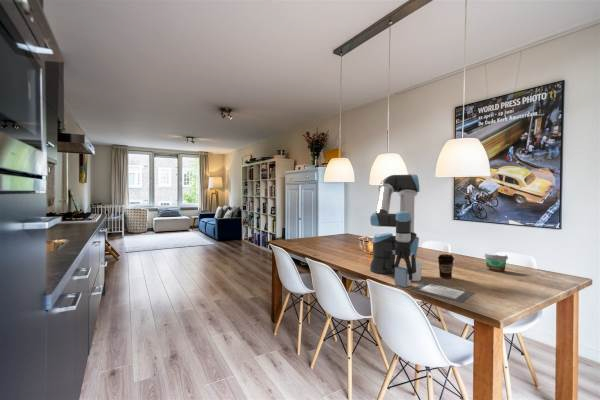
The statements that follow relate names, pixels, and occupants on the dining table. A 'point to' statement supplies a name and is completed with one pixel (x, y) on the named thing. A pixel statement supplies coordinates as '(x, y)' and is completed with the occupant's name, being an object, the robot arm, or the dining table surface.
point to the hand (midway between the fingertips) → (402, 284)
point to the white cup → (417, 271)
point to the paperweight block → (401, 276)
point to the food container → (496, 262)
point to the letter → (442, 291)
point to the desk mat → (458, 299)
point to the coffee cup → (445, 265)
